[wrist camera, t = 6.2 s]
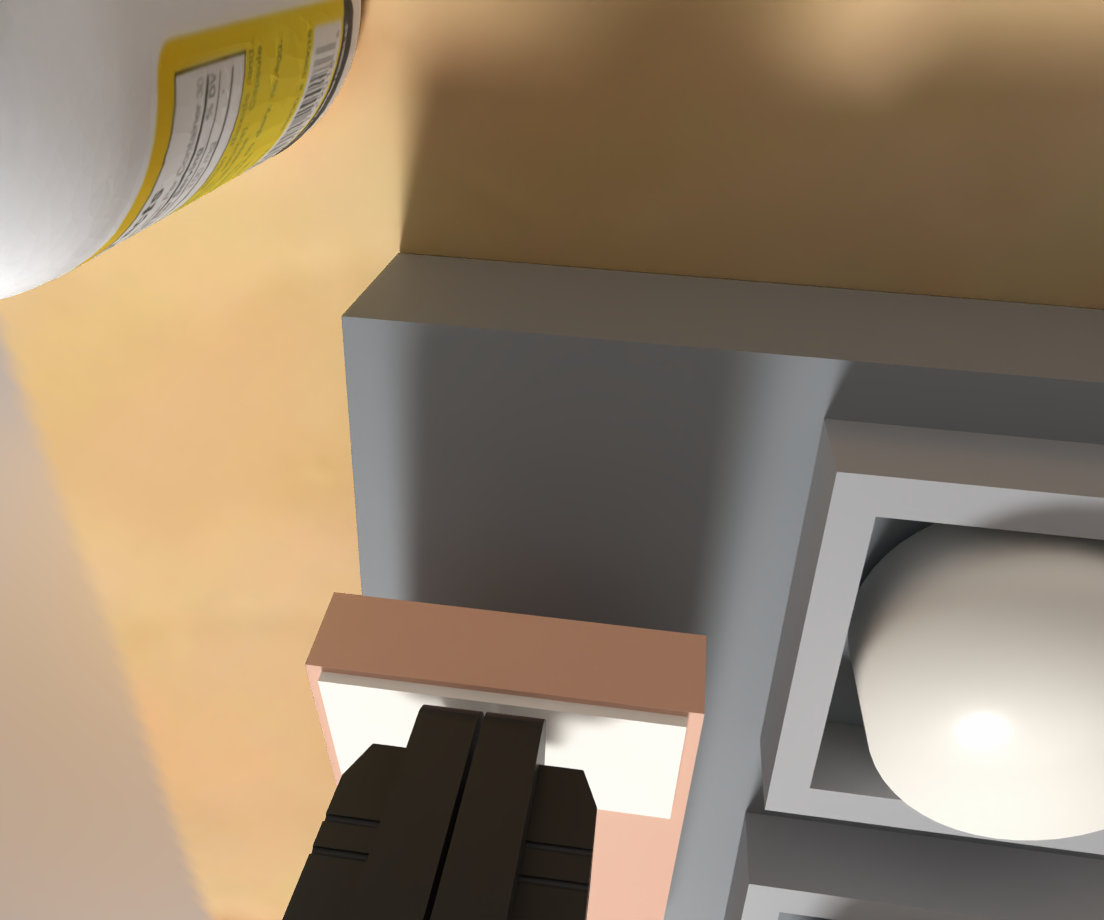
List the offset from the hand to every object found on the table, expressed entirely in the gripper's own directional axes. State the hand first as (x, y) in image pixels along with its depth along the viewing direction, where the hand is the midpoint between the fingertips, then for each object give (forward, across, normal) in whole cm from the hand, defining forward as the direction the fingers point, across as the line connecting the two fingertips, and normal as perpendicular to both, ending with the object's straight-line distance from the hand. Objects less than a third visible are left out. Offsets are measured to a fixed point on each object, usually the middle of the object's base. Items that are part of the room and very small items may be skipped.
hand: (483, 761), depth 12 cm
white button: (+4, -7, 0) cm, 8 cm away
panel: (+7, -4, +4) cm, 9 cm away
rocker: (+2, 0, +4) cm, 5 cm away
